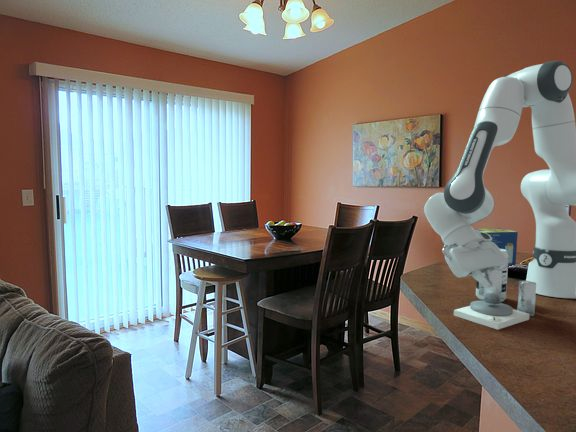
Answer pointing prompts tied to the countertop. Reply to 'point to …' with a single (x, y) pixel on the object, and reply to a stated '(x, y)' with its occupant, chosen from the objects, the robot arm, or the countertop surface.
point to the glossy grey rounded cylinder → (493, 286)
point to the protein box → (504, 241)
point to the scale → (491, 314)
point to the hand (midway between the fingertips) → (495, 285)
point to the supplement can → (504, 286)
